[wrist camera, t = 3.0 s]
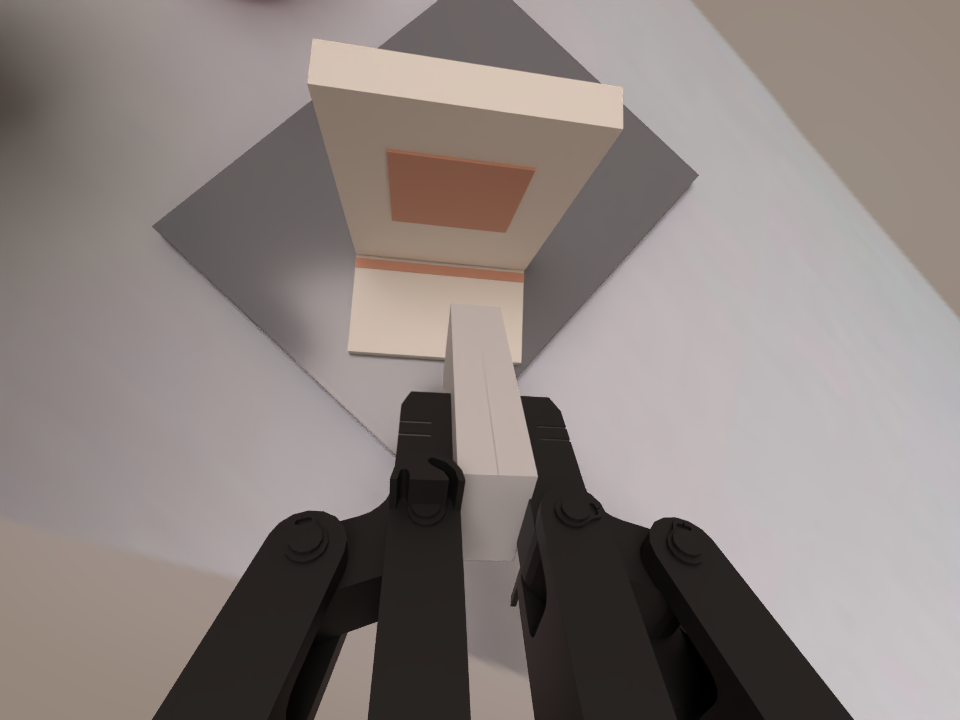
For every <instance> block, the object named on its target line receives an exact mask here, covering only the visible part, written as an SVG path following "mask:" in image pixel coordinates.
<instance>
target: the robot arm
mask: <svg viewBox="0 0 960 720" xmlns="http://www.w3.org/2000/svg"><path fill="white" fill-rule="evenodd" d="M565 427H566V426H565V423H564V420H563V417H562V414H561V411H560V410H559V409H558V408H557V406H556V405H555V404H554V403H553V402H552V401H551V400H550V398H547V397H530V396H520V393H519V389H518V384H517V380H516V375H515V371H514V366H513V362H512V357H511V353H510V348H509V344H508V339H507V335H506V330H505V326H504V321H503V317H502V312H501V308H500V307H492V306H480V305H467V304H455V303H451V305H450V315H449V324H448V334H447V343H446V353H445V362H444V372H443V393H436V392H418V391H411V392H410V393H409V395H408V396H407V397H406V399H405V400H404V401H403V403H402V404H401V412H400V423H399V432H398V441H397V451H396V461H395V467H394V470H393V472H392V475H391V478H390V494H389V496H388V497H387V499H386V500H385V501H384V502H383V503H382V504H381V505H380V506H379V507H377V508H376V509H374V510H373V511H371V512H369V513H366V514H364V515H361V516H358V517H354V518H350V519H347V520H343V521H339V520H338V519H337V518H336V517H335V516H333V515H330V514H328V513H326V512H324V511H305V512H301V513H298V514H294V515H292V516H290V517H288V518H287V519H285V520H283V521H282V522H280V523H279V524H278V525H277V526H276V527H275V528H274V529H273V530H272V532H271V533H270V534H269V535H268V537H267V538H266V540H265V541H264V543H263V545H262V546H261V548H260V549H259V551H258V553H257V554H256V556H255V557H254V559H253V560H252V562H251V564H250V565H249V567H248V568H247V570H246V572H245V573H244V575H243V576H242V578H241V579H240V581H239V583H238V584H237V586H236V587H235V589H234V591H233V592H232V594H231V595H230V597H229V599H228V600H227V602H226V603H225V605H224V606H223V608H222V610H221V611H220V613H219V614H218V616H217V618H216V619H215V621H214V622H213V624H212V626H211V627H210V629H209V630H208V632H207V634H206V635H205V636H204V638H203V640H202V641H201V643H200V644H199V646H198V648H197V649H196V651H195V652H194V654H193V655H192V657H191V659H190V660H189V662H188V664H187V665H186V667H185V668H184V670H183V671H182V673H181V674H180V676H179V678H178V679H177V681H176V682H175V684H174V686H173V687H172V689H171V690H170V692H169V694H168V695H167V697H166V698H165V700H164V702H163V703H162V705H161V706H160V708H159V709H158V711H157V712H156V714H155V716H154V717H153V719H152V720H314V718H315V715H316V713H317V710H318V708H319V705H320V702H321V700H322V697H323V694H324V692H325V690H326V687H327V684H328V682H329V679H330V677H331V674H332V672H333V669H334V666H335V663H336V661H337V659H338V656H339V653H340V651H341V648H342V646H343V643H344V641H345V638H346V635H347V633H348V632H350V631H352V630H355V629H358V628H361V627H364V626H366V625H369V624H372V623H375V622H378V624H377V634H376V644H375V654H374V663H373V674H372V683H371V693H370V703H369V712H368V720H471V716H470V694H469V674H468V653H467V632H466V611H465V590H464V569H463V561H513V560H514V557H515V553H516V550H517V548H518V555H519V561H520V570H519V573H518V576H517V579H516V583H515V586H514V589H513V592H512V595H511V606H516V604H517V601H518V600H519V608H520V615H521V622H522V630H523V637H524V644H525V652H526V659H527V666H528V674H529V681H530V688H531V696H532V703H533V710H534V718H535V720H854V719H853V718H852V717H851V715H850V714H849V713H848V712H847V710H846V709H845V708H844V707H843V705H842V704H841V703H840V701H839V700H838V699H837V698H836V696H835V695H834V694H833V693H832V691H831V690H830V689H829V687H828V686H827V685H826V684H825V682H824V681H823V680H822V679H821V677H820V676H819V675H818V673H817V672H816V671H815V670H814V668H813V667H812V666H811V665H810V663H809V662H808V661H807V659H806V658H805V657H804V656H803V654H802V653H801V652H800V651H799V649H798V648H797V647H796V645H795V644H794V643H793V642H792V640H791V639H790V638H789V637H788V635H787V634H786V633H785V631H784V630H783V629H782V628H781V626H780V625H779V624H778V623H777V621H776V620H775V619H774V618H773V616H772V615H771V614H770V612H769V611H768V610H767V609H766V607H765V606H764V605H763V604H762V602H761V601H760V600H759V598H758V597H757V596H756V595H755V593H754V592H753V591H752V590H751V588H750V587H749V586H748V584H747V583H746V582H745V581H744V579H743V578H742V577H741V576H740V574H739V573H738V572H737V570H736V569H735V568H734V567H733V565H732V564H731V563H730V562H729V560H728V559H727V558H726V556H725V555H724V554H723V553H722V551H721V550H720V549H719V548H718V546H717V545H716V544H715V542H714V541H713V540H712V539H711V538H710V537H709V536H708V535H707V534H706V533H705V532H704V531H703V530H702V529H700V528H699V527H697V526H695V525H694V524H692V523H690V522H689V521H685V520H682V519H679V518H676V517H672V518H662V519H660V520H658V521H656V522H654V524H653V525H652V527H651V529H648V528H645V527H642V526H639V525H635V524H632V523H629V522H626V521H623V520H620V519H618V518H615V517H613V516H611V515H609V514H608V513H606V512H605V511H604V509H603V507H602V505H601V503H600V502H599V501H597V500H596V499H595V498H594V497H593V496H592V495H591V494H589V493H587V491H586V488H585V486H584V482H583V479H582V476H581V473H580V470H579V467H578V464H577V461H576V457H575V454H574V451H573V448H572V445H571V442H569V436H568V432H567V429H565Z"/></svg>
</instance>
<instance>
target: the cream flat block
mask: <svg viewBox="0 0 960 720" xmlns="http://www.w3.org/2000/svg"><path fill="white" fill-rule="evenodd" d="M307 84H308V88H309V91H310V95H311V98H312V102H313V105H314V109H315V112H316V116H317V119H318V123H319V126H320V130H321V133H322V137H323V140H324V144H325V147H326V151H327V154H328V158H329V161H330V165H331V168H332V172H333V175H334V179H335V182H336V186H337V189H338V193H339V196H340V200H341V203H342V207H343V210H344V214H345V218H346V221H347V225H348V228H349V232H350V235H351V239H352V242H353V246H354V249H355V253H356V254H362V255H372V256H383V257H393V258H404V259H414V260H424V261H435V262H445V263H455V264H466V265H476V266H487V267H497V268H507V269H518V270H525V269H526V268H527V266H528V265H529V263H530V262H531V261H532V259H533V258H534V256H535V255H536V253H537V252H538V251H539V249H540V248H541V246H542V245H543V243H544V242H545V241H546V239H547V238H548V236H549V235H550V233H551V232H552V231H553V229H554V228H555V226H556V225H557V223H558V222H559V221H560V219H561V218H562V216H563V215H564V213H565V212H566V210H567V209H568V208H569V206H570V205H571V203H572V202H573V200H574V199H575V198H576V196H577V195H578V193H579V192H580V190H581V189H582V188H583V186H584V185H585V183H586V182H587V180H588V179H589V178H590V176H591V175H592V173H593V172H594V170H595V169H596V168H597V166H598V165H599V163H600V162H601V160H602V159H603V157H604V156H605V155H606V153H607V152H608V150H609V149H610V147H611V146H612V145H613V143H614V142H615V140H616V139H617V137H618V136H619V135H620V133H621V132H622V130H623V87H618V86H612V85H606V84H599V83H593V82H587V81H580V80H574V79H568V78H561V77H555V76H549V75H542V74H536V73H529V72H523V71H517V70H510V69H504V68H498V67H491V66H485V65H479V64H472V63H466V62H460V61H453V60H447V59H441V58H434V57H428V56H422V55H415V54H409V53H403V52H396V51H390V50H383V49H377V48H371V47H364V46H358V45H352V44H345V43H339V42H333V41H326V40H320V39H314V38H313V40H312V48H311V56H310V65H309V73H308V82H307Z"/></svg>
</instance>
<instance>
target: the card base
mask: <svg viewBox="0 0 960 720" xmlns="http://www.w3.org/2000/svg"><path fill="white" fill-rule="evenodd" d="M523 287H524V270H518V269H507V268H497V267H487V266H476V265H466V264H455V263H445V262H435V261H424V260H414V259H404V258H393V257H383V256H372V255H362V254H356V261H355V275H354V286H353V296H352V307H351V318H350V329H349V340H348V352H349V354H360V355H375V356H390V357H405V358H420V359H435V360H445V353H446V343H447V334H448V324H449V315H450V305H451V303H455V304H467V305H480V306H492V307H500V308H501V312H502V317H503V321H504V326H505V330H506V335H507V339H508V344H509V348H510V353H511V357H512V362H513V365H519V364H520V363H521V358H522V322H523Z"/></svg>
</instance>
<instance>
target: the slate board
mask: <svg viewBox="0 0 960 720" xmlns="http://www.w3.org/2000/svg"><path fill="white" fill-rule="evenodd" d="M377 49H383V50H390V51H396V52H403V53H409V54H415V55H422V56H428V57H434V58H441V59H447V60H453V61H460V62H466V63H472V64H479V65H485V66H491V67H498V68H504V69H510V70H517V71H523V72H529V73H536V74H542V75H549V76H555V77H561V78H568V79H574V80H580V81H587V82H593V83H599V84H601V83H600V82H599V81H598V80H597V79H596V78H595V77H594V76H593V75H591V74H590V73H589V72H588V71H587V70H586V69H585V68H584V67H583V66H582V65H581V64H580V63H579V62H578V61H577V60H575V59H574V58H573V57H572V56H571V55H570V54H569V53H568V52H567V51H566V50H565V49H564V48H563V47H562V46H560V45H559V44H558V43H557V42H556V41H555V40H554V39H553V38H552V37H551V36H550V35H549V34H548V33H547V32H546V31H544V30H543V29H542V28H541V27H540V26H539V25H538V24H537V23H536V22H535V21H534V20H533V19H532V18H531V17H530V16H528V15H527V14H526V13H525V12H524V11H523V10H522V9H521V8H520V7H519V6H518V5H517V4H516V3H515V2H514V1H512V0H438V1H437V2H436V3H434V4H433V5H432V6H431V7H429V8H428V9H427V10H426V11H424V12H423V13H422V14H420V15H419V16H418V17H417V18H415V19H414V20H413V21H412V22H410V23H409V24H408V25H407V26H405V27H404V28H403V29H401V30H400V31H399V32H398V33H396V34H395V35H394V36H393V37H391V38H390V39H389V40H388V41H386V42H385V43H384V44H382V45H381V46H380V47H379V48H377ZM698 176H699V175H698V174H697V173H696V172H695V171H694V170H693V169H692V168H691V167H690V166H689V165H687V164H686V163H685V162H684V161H683V160H682V159H681V158H680V157H679V156H678V155H677V154H676V153H675V152H674V151H673V150H671V149H670V148H669V147H668V146H667V145H666V144H665V143H664V142H663V141H662V140H661V139H660V138H659V137H658V136H657V135H655V134H654V133H653V132H652V131H651V130H650V129H649V128H648V127H647V126H646V125H645V124H644V123H643V122H642V121H641V120H639V119H638V118H637V117H636V116H635V115H634V114H633V113H632V112H631V111H630V110H629V109H628V108H627V107H626V106H625V105H623V130H622V132H621V133H620V135H619V136H618V137H617V139H616V140H615V142H614V143H613V145H612V146H611V147H610V149H609V150H608V152H607V153H606V155H605V156H604V157H603V159H602V160H601V162H600V163H599V165H598V166H597V168H596V169H595V170H594V172H593V173H592V175H591V176H590V178H589V179H588V180H587V182H586V183H585V185H584V186H583V188H582V189H581V190H580V192H579V193H578V195H577V196H576V198H575V199H574V200H573V202H572V203H571V205H570V206H569V208H568V209H567V210H566V212H565V213H564V215H563V216H562V218H561V219H560V221H559V222H558V223H557V225H556V226H555V228H554V229H553V231H552V232H551V233H550V235H549V236H548V238H547V239H546V241H545V242H544V243H543V245H542V246H541V248H540V249H539V251H538V252H537V253H536V255H535V256H534V258H533V259H532V261H531V262H530V263H529V265H528V266H527V268H526V269H525V270H524V287H523V322H522V358H521V363H520V364H519V365H513V366H514V371H515V375H516V377H517V376H518V375H519V374H520V372H521V371H522V370H523V369H524V368H525V367H526V366H527V365H528V364H529V362H530V361H531V360H532V359H533V358H534V357H535V356H536V355H537V354H538V353H539V351H540V350H541V349H542V348H543V347H544V346H545V345H546V344H547V343H548V341H549V340H550V339H551V338H552V337H553V336H554V335H555V334H556V333H557V332H558V330H559V329H560V328H561V327H562V326H563V325H564V324H565V323H566V322H567V320H568V319H569V318H570V317H571V316H572V315H573V314H574V313H575V312H576V311H577V309H578V308H579V307H580V306H581V305H582V304H583V303H584V302H585V301H586V299H587V298H588V297H589V296H590V295H591V294H592V293H593V292H594V291H595V290H596V288H597V287H598V286H599V285H600V284H601V283H602V282H603V281H604V280H605V278H606V277H607V276H608V275H609V274H610V273H611V272H612V271H613V270H614V269H615V267H616V266H617V265H618V264H619V263H620V262H621V261H622V260H623V259H624V257H625V256H626V255H627V254H628V253H629V252H630V251H631V250H632V249H633V247H634V246H635V245H636V244H637V243H638V242H639V241H640V240H641V239H642V238H643V236H644V235H645V234H646V233H647V232H648V231H649V230H650V229H651V228H652V226H653V225H654V224H655V223H656V222H657V221H658V220H659V219H660V218H661V217H662V215H663V214H664V213H665V212H666V211H667V210H668V209H669V208H670V207H671V205H672V204H673V203H674V202H675V201H676V200H677V199H678V198H679V197H680V196H681V194H682V193H683V192H684V191H685V190H686V189H687V188H688V187H689V186H690V184H691V183H692V182H693V181H694V180H695V179H696V178H697V177H698ZM152 227H153V228H154V229H155V230H156V231H157V232H159V233H160V234H161V235H162V236H163V237H164V238H165V239H166V240H167V241H168V242H169V243H170V244H171V245H172V246H173V247H174V248H176V249H177V250H178V251H179V252H180V253H181V254H182V255H183V256H184V257H185V258H186V259H187V260H188V261H189V262H190V263H192V264H193V265H194V266H195V267H196V268H197V269H198V270H199V271H200V272H201V273H202V274H203V275H204V276H205V277H206V278H208V279H209V280H210V281H211V282H212V283H213V284H214V285H215V286H216V287H217V288H218V289H219V290H220V291H221V292H222V293H223V294H225V295H226V296H227V297H228V298H229V299H230V300H231V301H232V302H233V303H234V304H235V305H236V306H237V307H238V308H239V309H241V310H242V311H243V312H244V313H245V314H246V315H247V316H248V317H249V318H250V319H251V320H252V321H253V322H254V323H255V324H257V325H258V326H259V327H260V328H261V329H262V330H263V331H264V332H265V333H266V334H267V335H268V336H269V337H270V338H271V339H272V340H274V341H275V342H276V343H277V344H278V345H279V346H280V347H281V348H282V349H283V350H284V351H285V352H286V353H287V354H288V355H290V356H291V357H292V358H293V359H294V360H295V361H296V362H297V363H298V364H299V365H300V366H301V367H302V368H303V369H304V370H306V371H307V372H308V373H309V374H310V375H311V376H312V377H313V378H314V379H315V380H316V381H317V382H318V383H319V384H320V385H321V386H323V387H324V388H325V389H326V390H327V391H328V392H329V393H330V394H331V395H332V396H333V397H334V398H335V399H336V400H337V401H339V402H340V403H341V404H342V405H343V406H344V407H345V408H346V409H347V410H348V411H349V412H350V413H351V414H352V415H353V416H354V417H356V418H357V419H358V420H359V421H360V422H361V423H362V424H363V425H364V426H365V427H366V428H367V429H368V430H369V431H370V432H372V433H373V434H374V435H375V436H376V437H377V438H378V439H379V440H380V441H381V442H382V443H383V444H384V445H385V446H386V447H388V448H389V449H390V450H391V451H392V452H393V453H394V454H395V455H396V451H397V441H398V432H399V423H400V412H401V404H402V403H403V401H404V400H405V399H406V397H407V396H408V395H409V393H410V392H411V391H418V392H436V393H443V372H444V362H445V360H435V359H420V358H405V357H390V356H375V355H360V354H349V352H348V340H349V329H350V318H351V307H352V296H353V286H354V275H355V261H356V253H355V249H354V246H353V242H352V239H351V235H350V232H349V228H348V225H347V221H346V218H345V214H344V210H343V207H342V203H341V200H340V196H339V193H338V189H337V186H336V182H335V179H334V175H333V172H332V168H331V165H330V161H329V158H328V154H327V151H326V147H325V144H324V140H323V137H322V133H321V130H320V126H319V123H318V119H317V116H316V112H315V109H314V105H313V102H312V101H310V102H309V103H308V104H306V105H305V106H304V107H303V108H301V109H300V110H299V111H298V112H296V113H295V114H294V115H293V116H291V117H290V118H289V119H287V120H286V121H285V122H284V123H282V124H281V125H280V126H279V127H277V128H276V129H275V130H273V131H272V132H271V133H270V134H268V135H267V136H266V137H265V138H263V139H262V140H261V141H260V142H258V143H257V144H256V145H254V146H253V147H252V148H251V149H249V150H248V151H247V152H246V153H244V154H243V155H242V156H241V157H239V158H238V159H237V160H235V161H234V162H233V163H232V164H230V165H229V166H228V167H227V168H225V169H224V170H223V171H222V172H220V173H219V174H218V175H216V176H215V177H214V178H213V179H211V180H210V181H209V182H208V183H206V184H205V185H204V186H203V187H201V188H200V189H199V190H197V191H196V192H195V193H194V194H192V195H191V196H190V197H189V198H187V199H186V200H185V201H184V202H182V203H181V204H180V205H178V206H177V207H176V208H175V209H173V210H172V211H171V212H170V213H168V214H167V215H166V216H165V217H163V218H162V219H161V220H159V221H158V222H157V223H156V224H154V225H153V226H152Z"/></svg>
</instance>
